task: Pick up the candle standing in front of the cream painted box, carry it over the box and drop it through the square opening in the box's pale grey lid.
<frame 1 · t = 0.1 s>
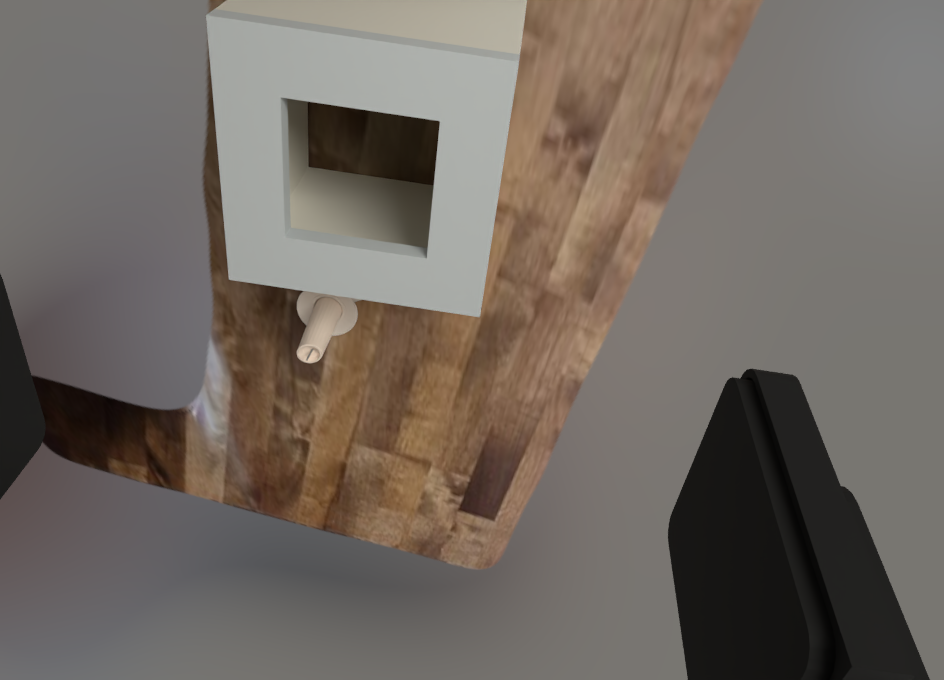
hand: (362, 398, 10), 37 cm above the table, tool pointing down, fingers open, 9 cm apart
drop box: (400, 93, 45), on the table
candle: (346, 264, 53), on the table
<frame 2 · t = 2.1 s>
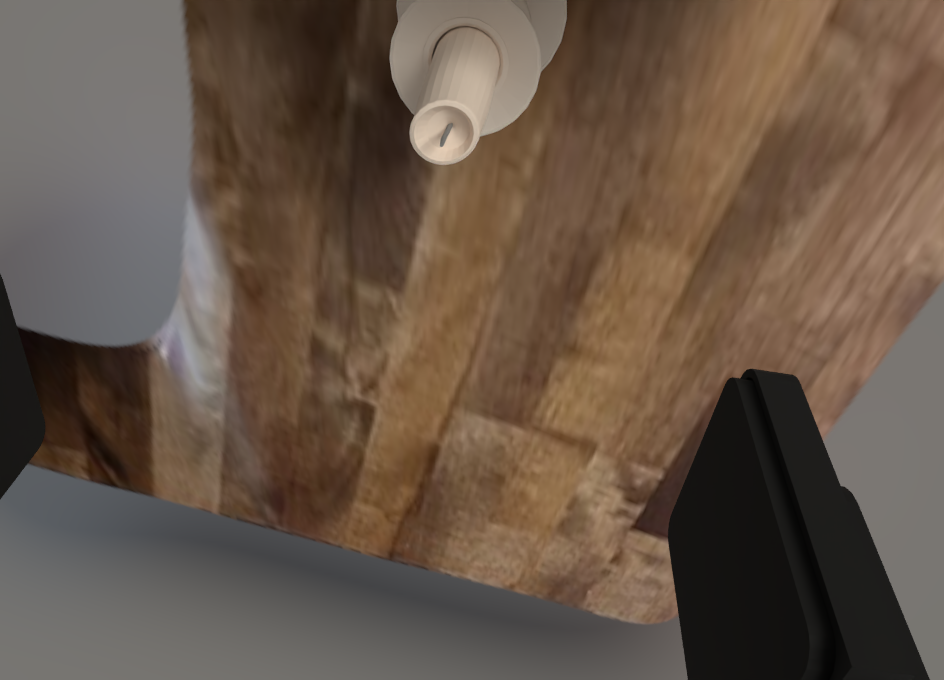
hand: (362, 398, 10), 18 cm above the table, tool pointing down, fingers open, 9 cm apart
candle: (482, 6, 24), on the table
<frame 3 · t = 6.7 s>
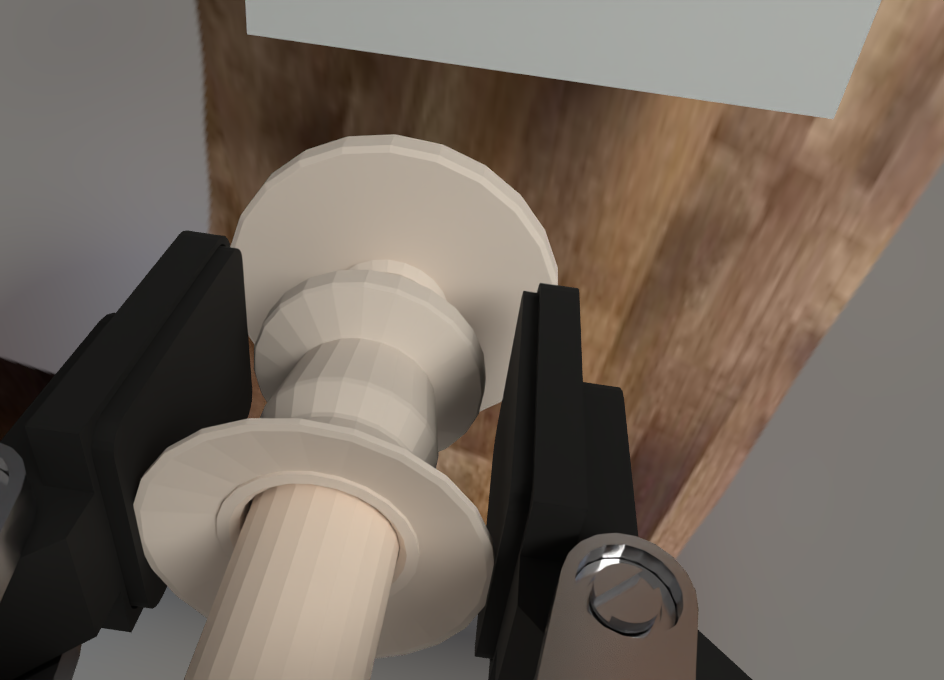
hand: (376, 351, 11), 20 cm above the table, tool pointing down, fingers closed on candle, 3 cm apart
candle: (399, 279, 13), point 18 cm above the table, touching gripper
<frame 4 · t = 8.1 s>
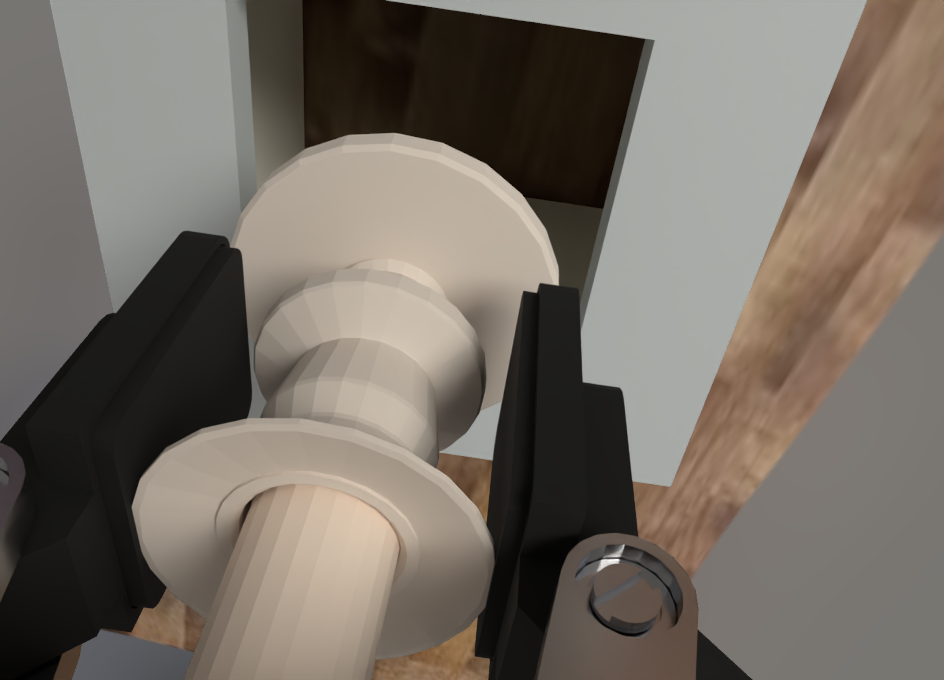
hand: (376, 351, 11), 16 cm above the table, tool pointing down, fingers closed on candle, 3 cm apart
drop box: (476, 27, 24), on the table
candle: (399, 279, 13), point 14 cm above the table, touching gripper
when the fingers open (14 cm above the table, at t = 9.1 s): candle drops 13 cm, resting in drop box.
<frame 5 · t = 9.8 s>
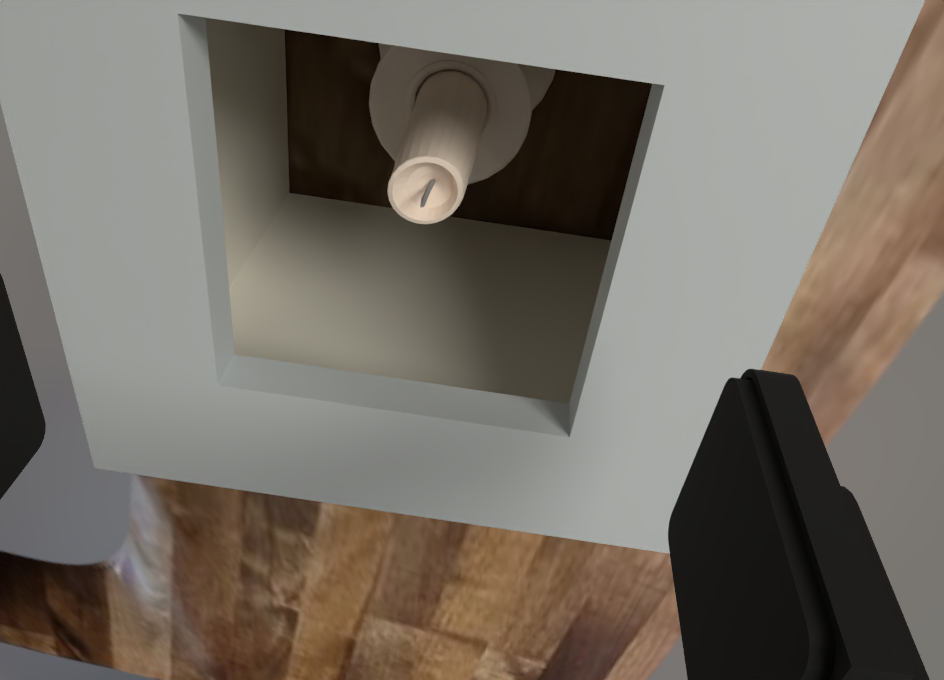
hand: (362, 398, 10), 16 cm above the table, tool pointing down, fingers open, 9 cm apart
drop box: (469, 50, 23), on the table
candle: (470, 43, 23), resting in drop box
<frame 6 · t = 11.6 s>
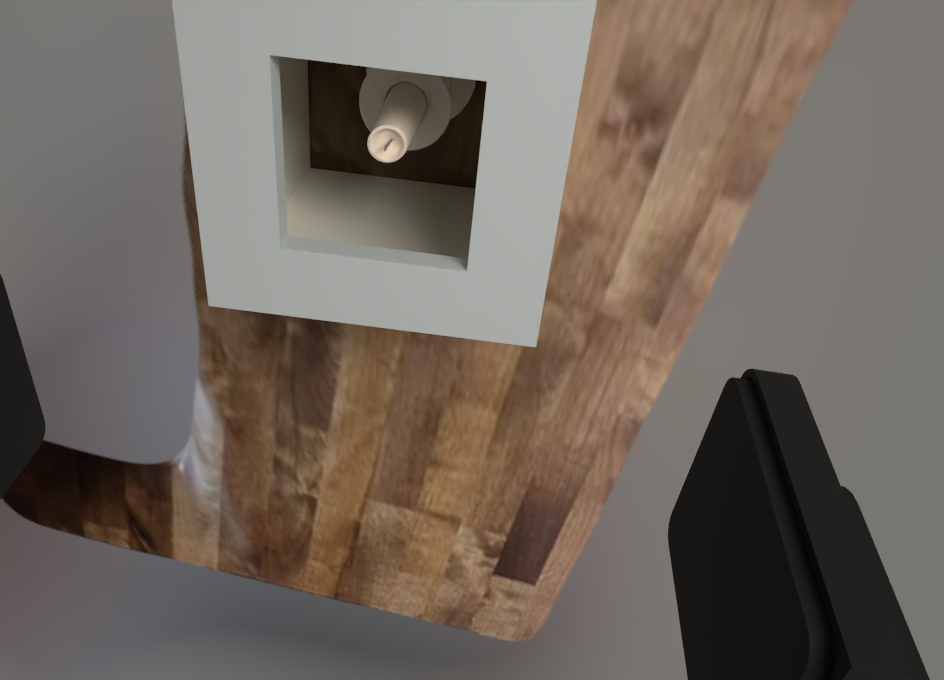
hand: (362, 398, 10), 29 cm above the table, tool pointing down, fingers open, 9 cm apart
drop box: (422, 72, 36), on the table
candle: (422, 68, 37), resting in drop box
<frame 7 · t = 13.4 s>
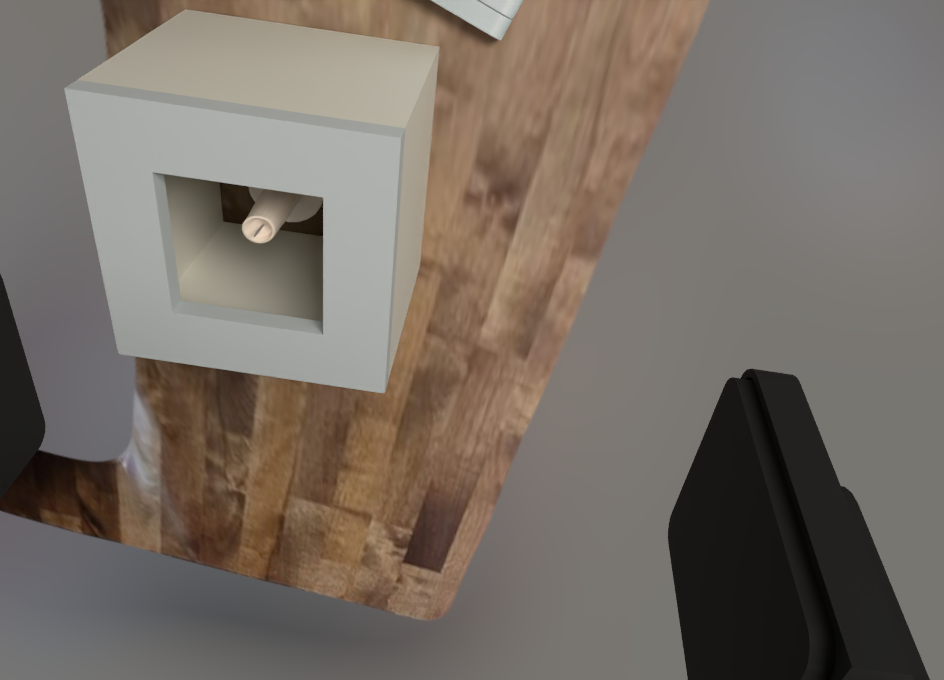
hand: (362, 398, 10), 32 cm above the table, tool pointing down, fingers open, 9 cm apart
drop box: (313, 148, 43), on the table
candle: (313, 144, 43), resting in drop box
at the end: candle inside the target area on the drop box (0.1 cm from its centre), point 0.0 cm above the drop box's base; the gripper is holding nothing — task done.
